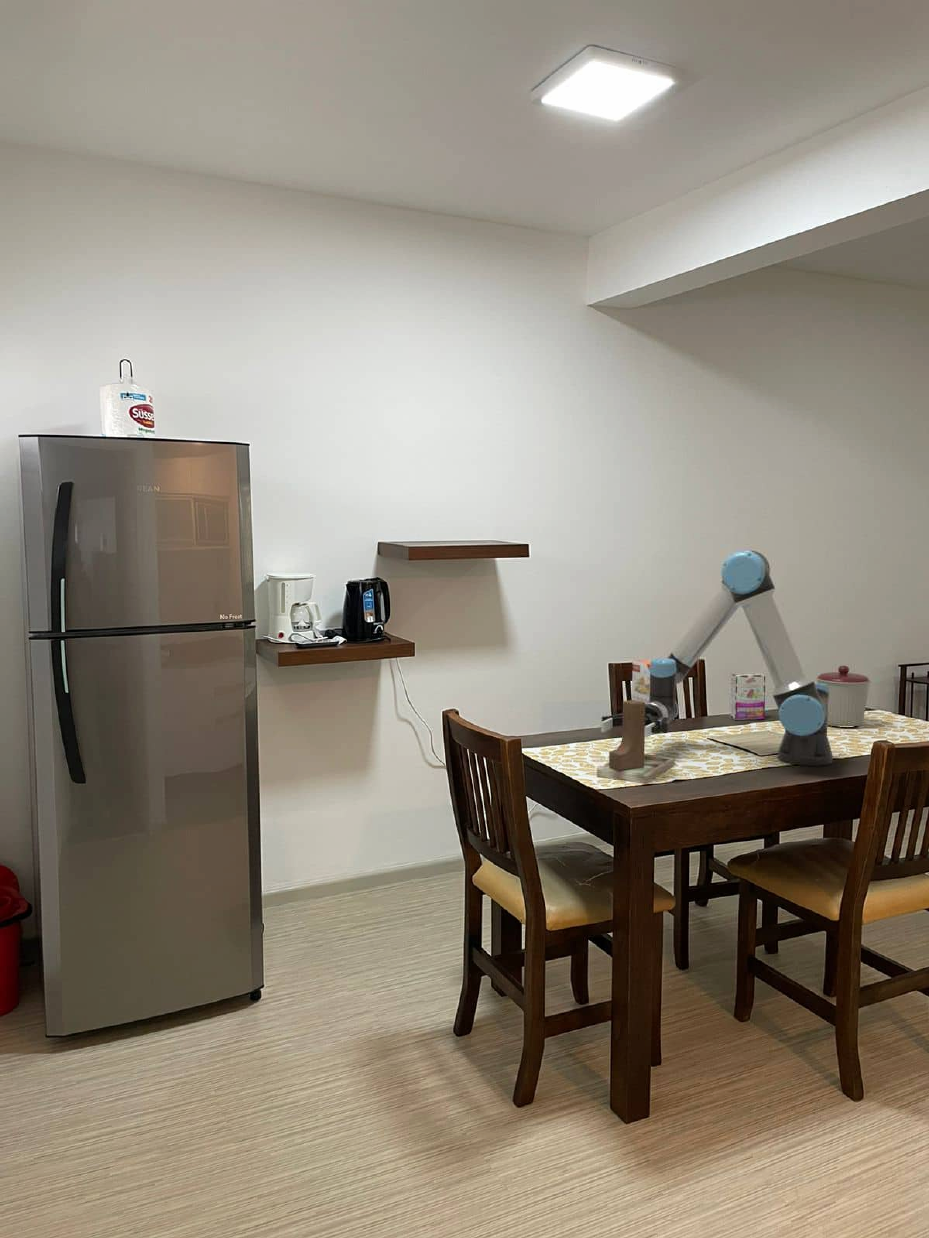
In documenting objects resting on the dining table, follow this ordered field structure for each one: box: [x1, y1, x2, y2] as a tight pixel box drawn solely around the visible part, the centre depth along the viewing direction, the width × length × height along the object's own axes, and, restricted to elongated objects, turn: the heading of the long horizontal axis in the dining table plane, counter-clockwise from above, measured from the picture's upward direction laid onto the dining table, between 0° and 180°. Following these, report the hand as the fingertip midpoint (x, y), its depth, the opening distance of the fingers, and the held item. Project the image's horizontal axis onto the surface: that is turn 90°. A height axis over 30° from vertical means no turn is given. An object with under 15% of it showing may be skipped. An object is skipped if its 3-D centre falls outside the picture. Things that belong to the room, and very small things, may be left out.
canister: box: [815, 665, 872, 727], centre depth 329 cm, size 18×18×21 cm
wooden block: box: [608, 699, 646, 771], centre depth 257 cm, size 9×4×18 cm, turn 121°
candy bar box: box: [730, 673, 766, 720], centre depth 339 cm, size 11×5×16 cm, turn 97°
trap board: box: [596, 753, 676, 784], centre depth 264 cm, size 14×24×2 cm, turn 150°
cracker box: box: [631, 659, 651, 705], centre depth 337 cm, size 14×6×21 cm, turn 22°
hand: (623, 729), depth 253 cm, fingers open, 11 cm apart
